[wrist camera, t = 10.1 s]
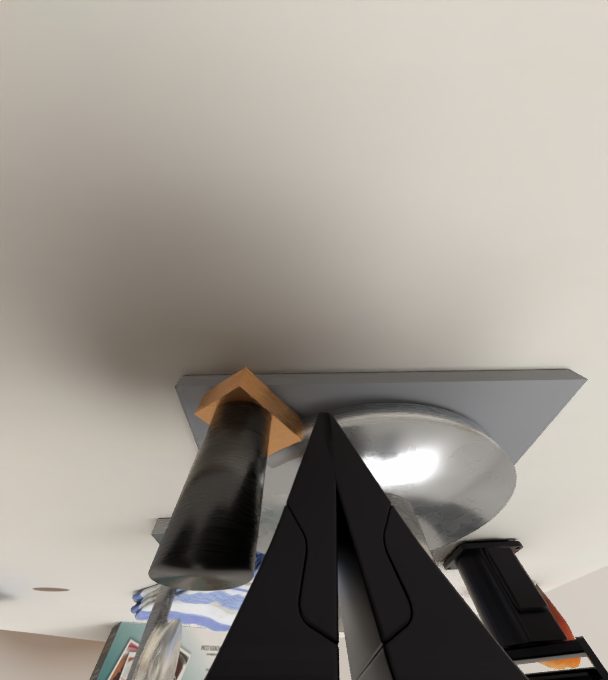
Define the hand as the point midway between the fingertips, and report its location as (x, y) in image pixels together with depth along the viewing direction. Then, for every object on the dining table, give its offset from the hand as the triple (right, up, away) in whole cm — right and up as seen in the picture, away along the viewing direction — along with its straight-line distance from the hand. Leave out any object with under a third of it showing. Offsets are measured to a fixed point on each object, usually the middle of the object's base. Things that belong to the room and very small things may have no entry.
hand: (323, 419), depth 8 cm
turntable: (+2, -7, +6) cm, 9 cm away
